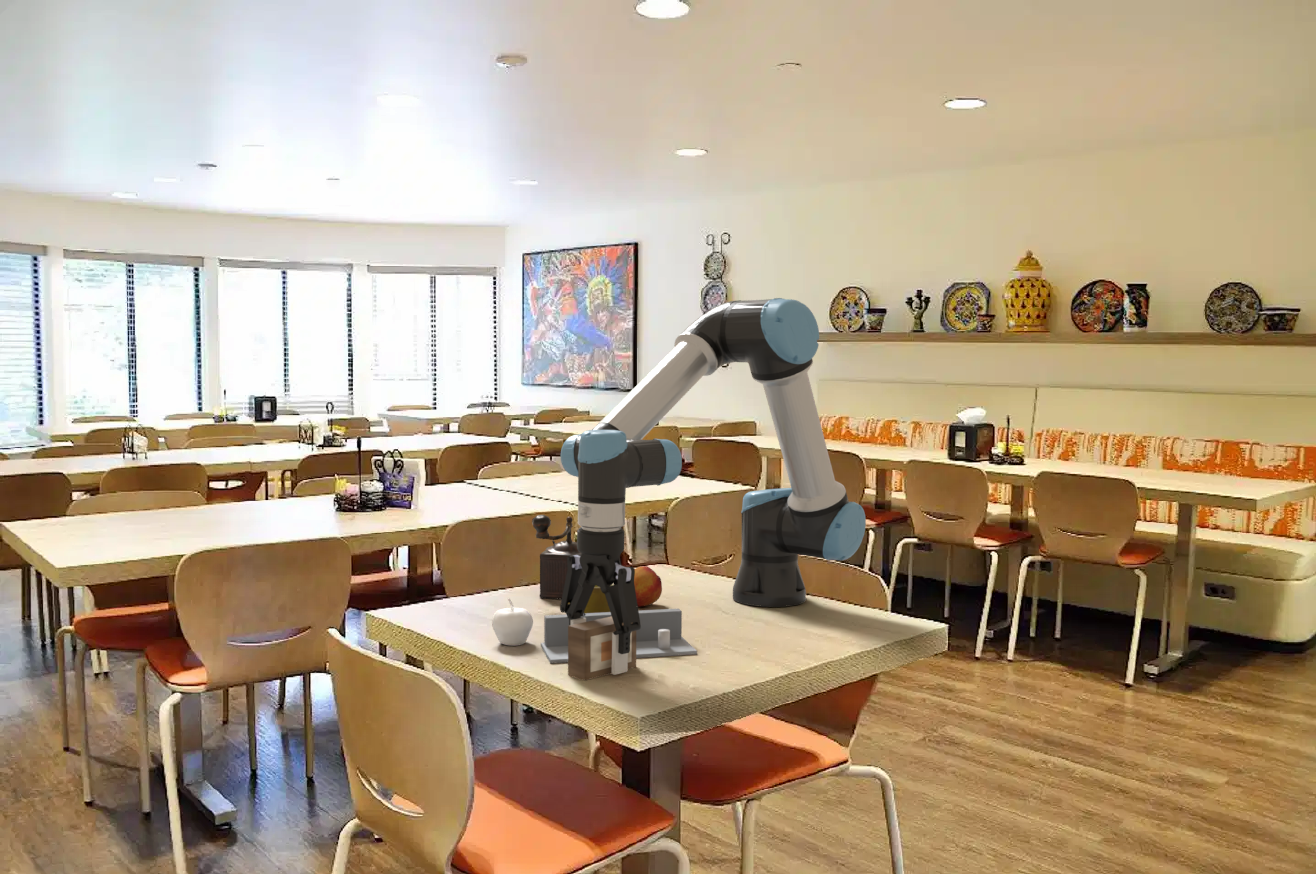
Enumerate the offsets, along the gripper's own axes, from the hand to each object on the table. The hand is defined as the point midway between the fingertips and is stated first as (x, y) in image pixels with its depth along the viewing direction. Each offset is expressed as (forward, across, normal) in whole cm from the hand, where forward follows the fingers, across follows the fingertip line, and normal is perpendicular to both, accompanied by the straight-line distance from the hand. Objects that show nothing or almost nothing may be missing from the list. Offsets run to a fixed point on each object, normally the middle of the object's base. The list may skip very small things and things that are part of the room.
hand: (598, 665), depth 176 cm
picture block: (+1, +1, 0) cm, 1 cm away
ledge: (+1, -6, +10) cm, 12 cm away
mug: (+2, -23, +18) cm, 29 cm away
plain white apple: (+2, -22, 0) cm, 22 cm away
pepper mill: (+2, -45, +30) cm, 54 cm away
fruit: (+2, -28, +36) cm, 46 cm away
